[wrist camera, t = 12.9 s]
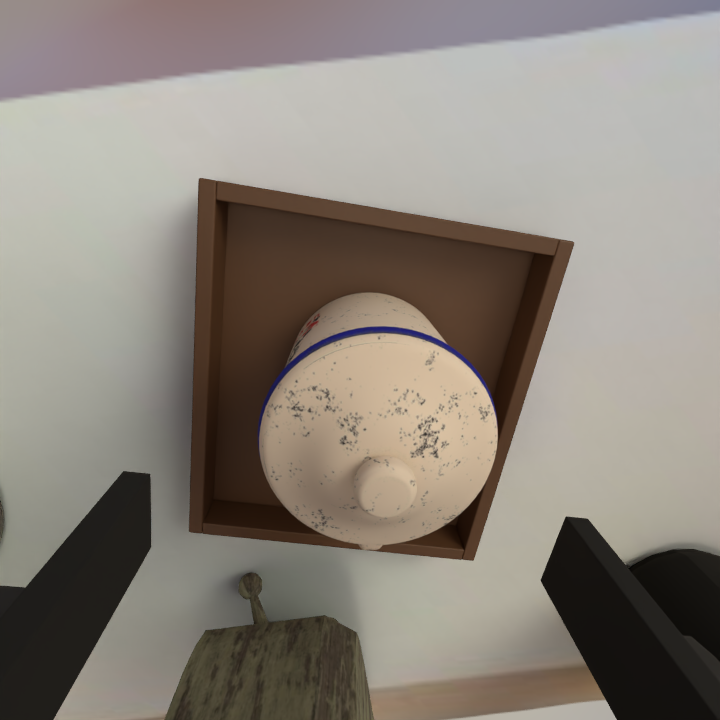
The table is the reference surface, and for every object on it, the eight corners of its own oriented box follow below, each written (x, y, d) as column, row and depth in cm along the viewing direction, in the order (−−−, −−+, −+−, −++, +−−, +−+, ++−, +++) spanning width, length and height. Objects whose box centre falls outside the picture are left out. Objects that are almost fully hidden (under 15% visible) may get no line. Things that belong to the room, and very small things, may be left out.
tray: (203, 501, 27) (188, 532, 24) (216, 182, 21) (197, 177, 18) (462, 529, 28) (474, 561, 26) (548, 238, 22) (575, 241, 19)
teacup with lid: (284, 285, 22) (222, 355, 11) (453, 287, 22) (558, 358, 11) (292, 476, 26) (253, 669, 15) (435, 475, 26) (500, 663, 15)
